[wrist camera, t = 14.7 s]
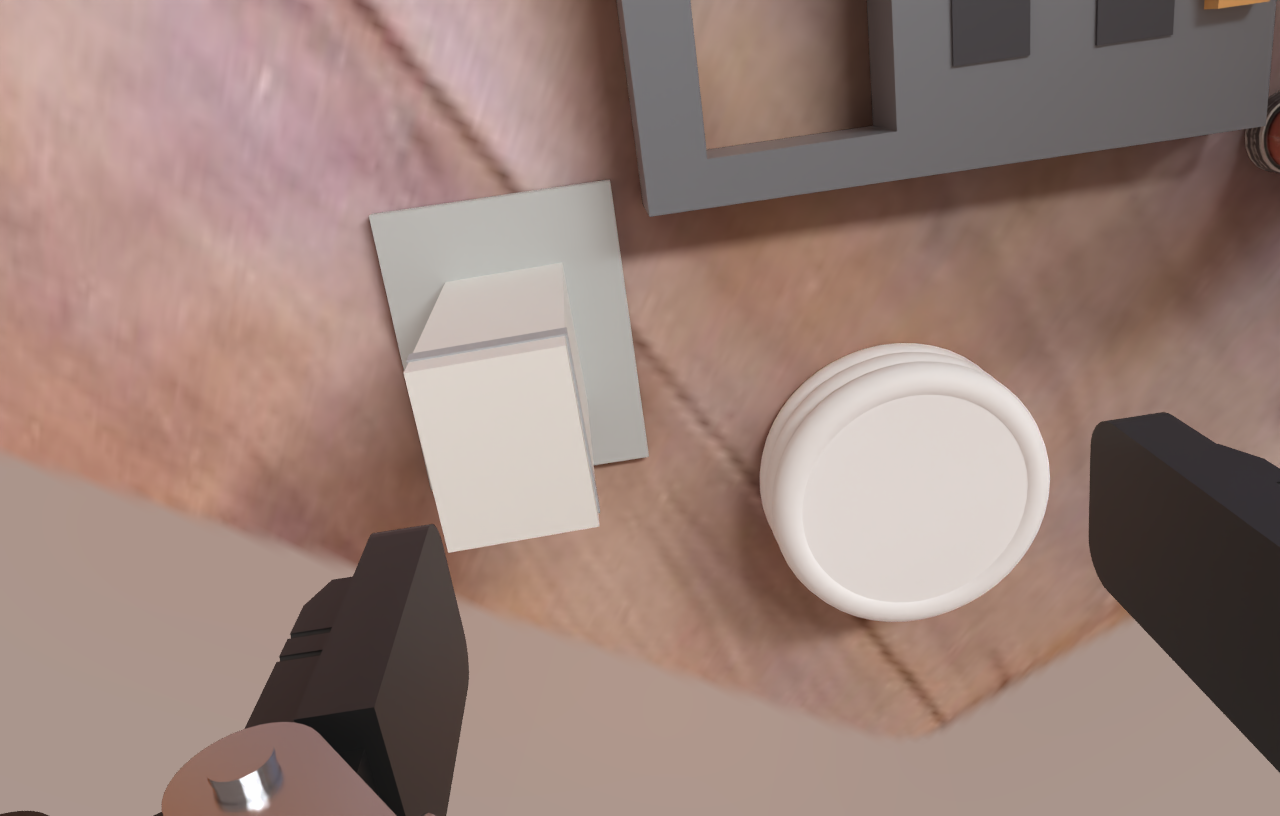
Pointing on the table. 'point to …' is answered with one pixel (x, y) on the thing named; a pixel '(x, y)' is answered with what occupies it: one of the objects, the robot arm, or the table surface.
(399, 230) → the rubber mat
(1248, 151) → the lighter
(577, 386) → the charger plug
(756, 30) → the table surface
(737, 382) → the table surface
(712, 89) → the table surface
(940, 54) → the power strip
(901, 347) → the white short cylinder
